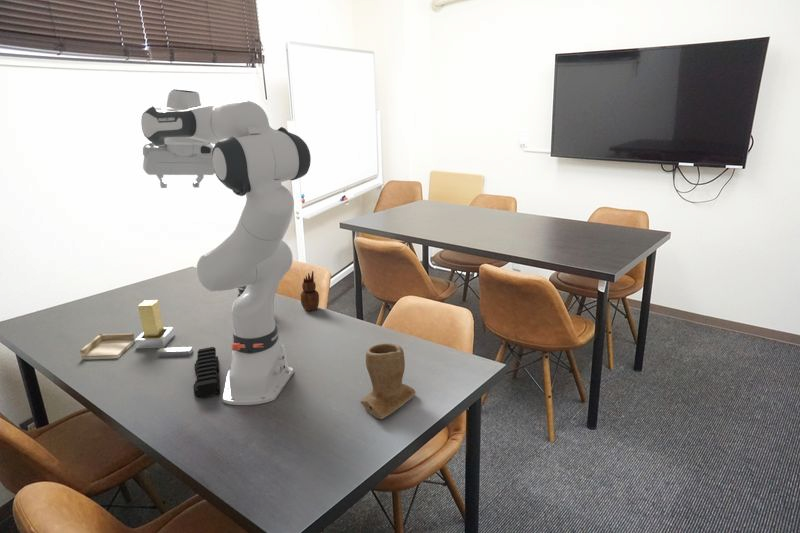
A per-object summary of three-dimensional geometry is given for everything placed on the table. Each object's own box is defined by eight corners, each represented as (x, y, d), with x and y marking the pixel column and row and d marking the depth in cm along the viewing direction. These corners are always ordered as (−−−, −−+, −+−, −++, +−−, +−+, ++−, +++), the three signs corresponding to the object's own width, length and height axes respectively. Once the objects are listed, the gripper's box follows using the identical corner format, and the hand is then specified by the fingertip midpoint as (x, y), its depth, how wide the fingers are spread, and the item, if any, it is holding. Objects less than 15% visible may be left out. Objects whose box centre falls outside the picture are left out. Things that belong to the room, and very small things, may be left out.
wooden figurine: (321, 306, 186) (318, 269, 182) (317, 312, 181) (314, 274, 176) (304, 305, 187) (301, 269, 182) (299, 312, 182) (296, 274, 177)
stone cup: (387, 381, 135) (386, 333, 130) (421, 397, 128) (421, 346, 123) (348, 407, 124) (345, 355, 119) (383, 425, 117) (381, 370, 112)
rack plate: (118, 358, 151) (116, 349, 150) (82, 359, 151) (80, 350, 150) (135, 341, 161) (133, 333, 160) (101, 342, 161) (99, 334, 160)
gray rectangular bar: (193, 352, 154) (192, 346, 154) (190, 356, 152) (189, 350, 151) (161, 353, 154) (160, 348, 153) (157, 357, 152) (156, 352, 151)
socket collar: (163, 347, 157) (162, 339, 156) (136, 348, 157) (134, 340, 156) (174, 335, 165) (173, 327, 164) (148, 336, 165) (147, 328, 164)
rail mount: (196, 365, 147) (193, 350, 145) (218, 360, 149) (216, 346, 147) (194, 403, 128) (191, 387, 126) (220, 398, 130) (217, 381, 128)
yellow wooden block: (159, 344, 159) (152, 305, 155) (146, 345, 159) (138, 305, 154) (165, 338, 163) (158, 300, 159) (152, 338, 163) (144, 300, 159)
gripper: (145, 146, 135) (145, 192, 141) (219, 149, 148) (216, 190, 154) (140, 138, 139) (140, 183, 145) (212, 141, 152) (209, 182, 158)
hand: (179, 187), depth 150 cm, fingers open, 8 cm apart
